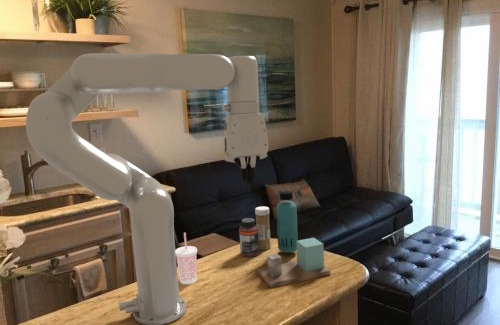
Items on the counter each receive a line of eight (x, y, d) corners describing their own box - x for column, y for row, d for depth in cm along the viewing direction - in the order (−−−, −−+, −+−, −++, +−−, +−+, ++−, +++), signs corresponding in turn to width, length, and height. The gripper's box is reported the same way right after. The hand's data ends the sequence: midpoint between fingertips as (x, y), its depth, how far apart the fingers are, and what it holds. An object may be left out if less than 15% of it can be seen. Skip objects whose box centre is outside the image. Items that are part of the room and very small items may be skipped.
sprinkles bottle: (273, 247, 144) (272, 208, 141) (262, 251, 142) (260, 210, 139) (265, 243, 148) (263, 205, 145) (254, 247, 145) (252, 207, 143)
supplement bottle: (247, 249, 144) (246, 215, 142) (263, 252, 140) (261, 218, 138) (236, 255, 139) (234, 221, 137) (252, 259, 136) (250, 223, 134)
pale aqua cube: (306, 271, 122) (305, 247, 121) (297, 264, 128) (296, 240, 126) (323, 267, 124) (323, 243, 123) (314, 260, 129) (313, 237, 128)
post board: (270, 287, 117) (269, 265, 116) (257, 272, 126) (256, 252, 125) (330, 274, 123) (330, 253, 122) (313, 261, 132) (312, 241, 131)
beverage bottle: (292, 247, 143) (290, 187, 139) (302, 255, 137) (300, 192, 133) (274, 251, 141) (271, 190, 137) (283, 258, 135) (280, 195, 131)
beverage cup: (174, 285, 121) (170, 236, 118) (180, 275, 127) (176, 228, 124) (196, 285, 120) (192, 236, 117) (201, 275, 126) (198, 228, 123)
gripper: (218, 111, 100) (223, 190, 104) (278, 107, 105) (281, 182, 109) (209, 110, 107) (214, 183, 111) (266, 106, 112) (269, 176, 116)
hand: (247, 182), depth 110 cm, fingers closed
